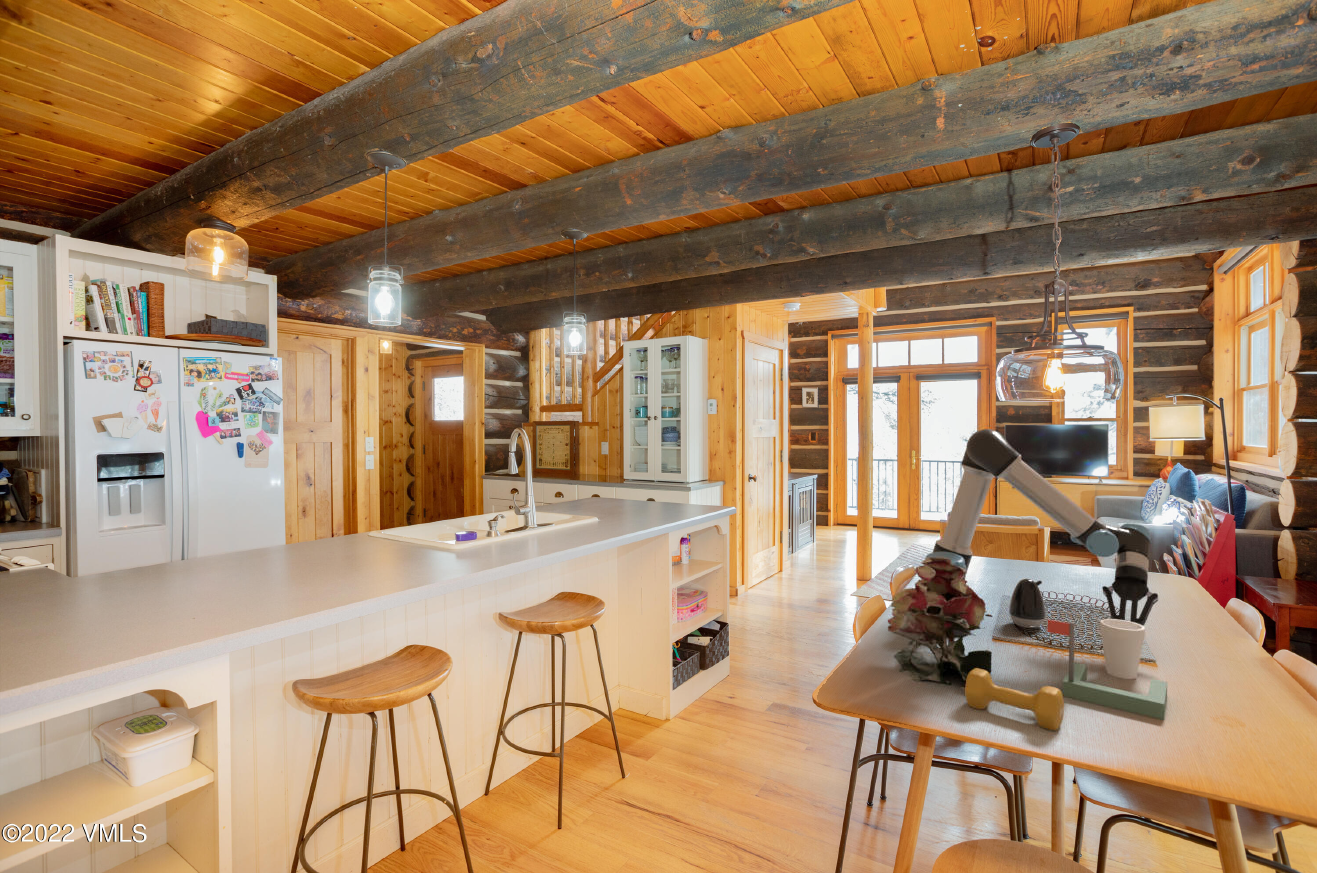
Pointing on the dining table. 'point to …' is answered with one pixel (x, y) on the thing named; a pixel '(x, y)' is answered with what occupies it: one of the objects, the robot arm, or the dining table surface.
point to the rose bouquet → (938, 622)
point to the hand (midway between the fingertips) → (1125, 644)
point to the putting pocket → (1104, 695)
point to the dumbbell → (1016, 698)
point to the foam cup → (1122, 647)
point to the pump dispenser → (1027, 604)
